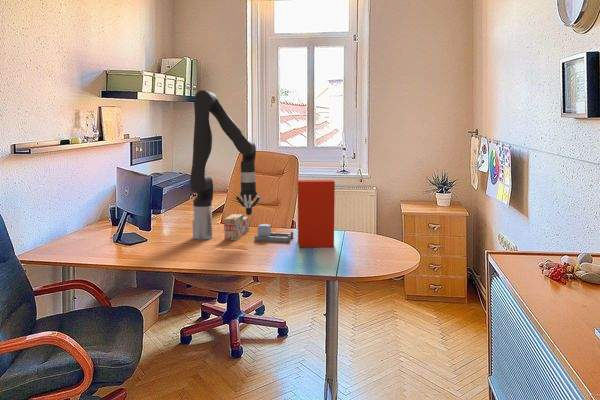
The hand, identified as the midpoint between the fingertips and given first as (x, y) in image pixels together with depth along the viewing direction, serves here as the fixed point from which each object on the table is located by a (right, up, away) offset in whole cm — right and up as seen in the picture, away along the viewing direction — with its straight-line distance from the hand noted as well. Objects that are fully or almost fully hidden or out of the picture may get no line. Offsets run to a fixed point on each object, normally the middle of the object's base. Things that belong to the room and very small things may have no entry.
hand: (249, 214), depth 246 cm
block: (+8, -12, +1) cm, 15 cm away
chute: (+13, -14, 0) cm, 18 cm away
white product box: (-7, -12, +9) cm, 17 cm away
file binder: (+33, -15, -7) cm, 37 cm away
